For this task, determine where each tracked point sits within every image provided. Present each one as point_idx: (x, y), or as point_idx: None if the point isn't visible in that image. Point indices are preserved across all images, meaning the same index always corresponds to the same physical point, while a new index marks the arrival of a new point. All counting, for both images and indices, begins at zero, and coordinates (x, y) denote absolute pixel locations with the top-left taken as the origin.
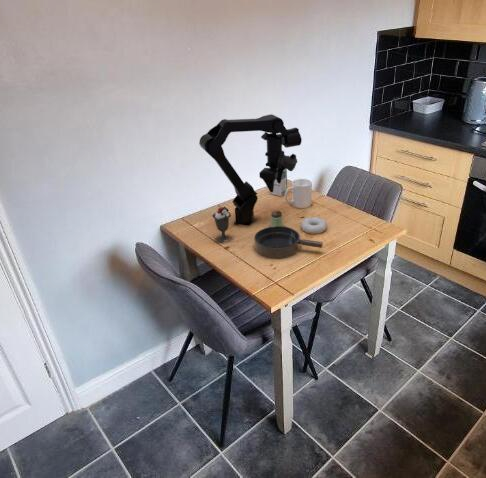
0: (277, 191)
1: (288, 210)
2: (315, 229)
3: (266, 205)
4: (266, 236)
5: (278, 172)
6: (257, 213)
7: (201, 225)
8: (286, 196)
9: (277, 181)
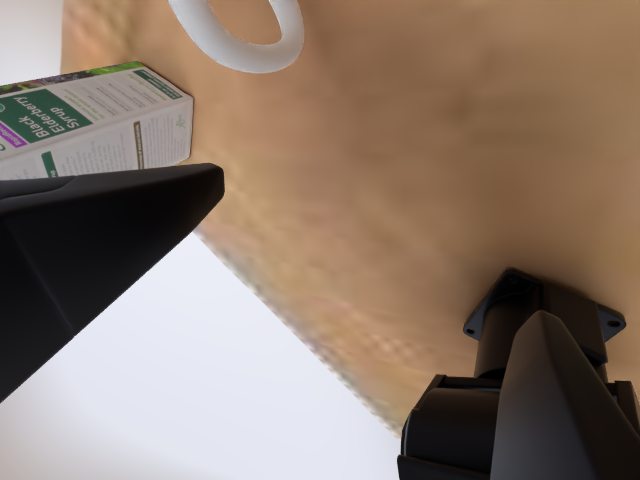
0: (173, 126)
1: (373, 17)
2: None
3: (311, 183)
4: None
5: (68, 269)
6: (414, 239)
7: None
8: (279, 51)
9: (208, 209)
